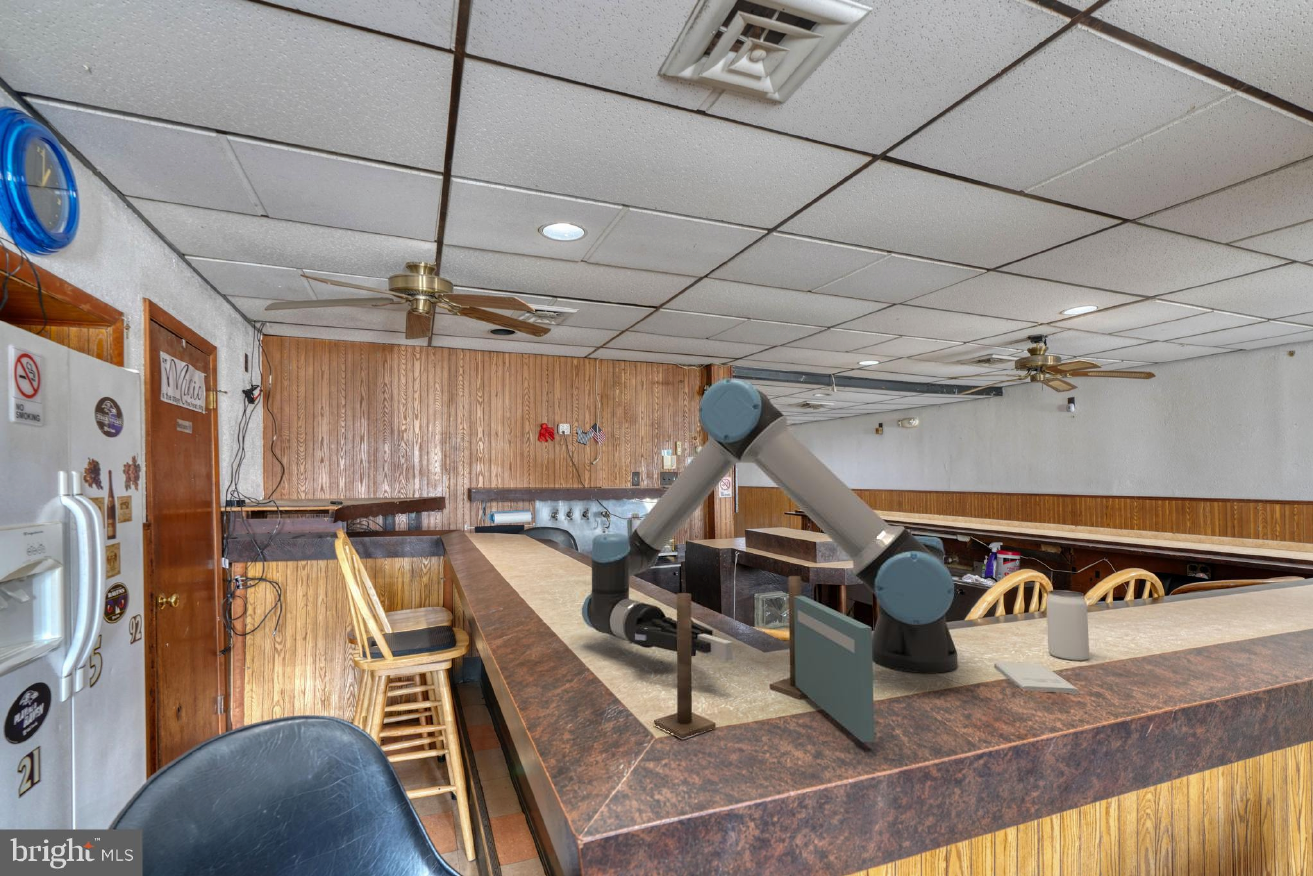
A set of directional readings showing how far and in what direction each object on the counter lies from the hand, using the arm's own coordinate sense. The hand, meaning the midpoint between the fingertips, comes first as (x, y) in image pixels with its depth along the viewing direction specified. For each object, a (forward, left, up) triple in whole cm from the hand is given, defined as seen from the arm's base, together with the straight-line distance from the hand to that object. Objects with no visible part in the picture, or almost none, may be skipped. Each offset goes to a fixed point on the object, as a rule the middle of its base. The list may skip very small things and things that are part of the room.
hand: (728, 651), depth 95 cm
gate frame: (-2, +4, -7) cm, 8 cm away
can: (-68, -18, -7) cm, 71 cm away
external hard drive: (-53, -5, -8) cm, 54 cm away
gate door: (-13, +9, -6) cm, 17 cm away
